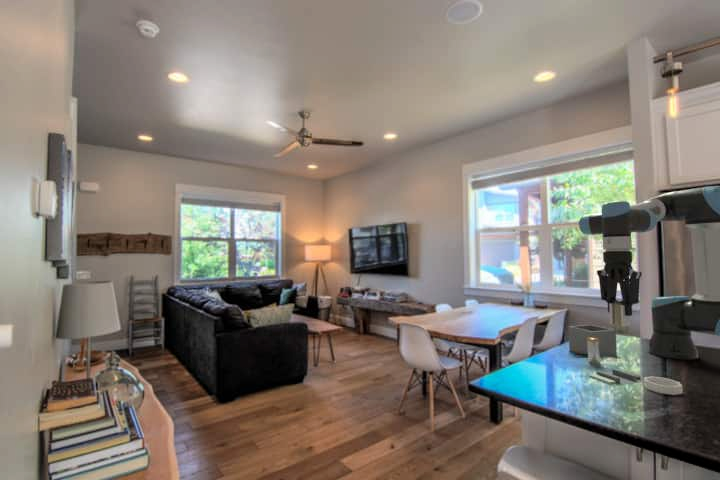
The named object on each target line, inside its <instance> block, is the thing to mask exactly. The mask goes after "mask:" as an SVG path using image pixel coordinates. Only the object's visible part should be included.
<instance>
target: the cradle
mask: <svg viewBox="0 0 720 480" xmlns="http://www.w3.org/2000/svg"><path fill="white" fill-rule="evenodd" d="M585 377H588V378H591V379H594V380H596V381H599V382H601V383H604V384H607V385H610V386H612V387H618V386H623V385H624V386H625V385H630V384H637V383H644V378H642V377H641V376H640V375H636V374H633V373H629V372H626V371H624V370H621V369H617V368H612V369H611V371H609V372H608V371H607V372H606V371H605V372H604V371H601V370H596V373H592V374H591V373H590V374H586V375H585Z"/></svg>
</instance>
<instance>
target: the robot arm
mask: <svg viewBox="0 0 720 480" xmlns="http://www.w3.org/2000/svg"><path fill="white" fill-rule="evenodd" d="M679 221H680V222H684V225H685V227H687V228H688V229H690V233H691V234H690V235H691V245H692V255H693V256H692V257H693V259H692V260H693V268H694V278H695V279H694V281H695V294H693V295H692V296H690V297H691V299H690V297H689V296H687V295H682V296H681V295H678V296H677V295H675V296H673V295H672V296H657V297H656V296H655V297H653V299H652V301H651V306H650V307H651V309H650V310H651V320H652V321H651V322H652V334H651V338H650V340H649V343H648V345H647V348H648V349H647V350H648V353H650V354H651V355H655V356H658V357H662V358H668V359H675V360H684V361H685V360H697V359H699V351H698V350H697V347H696V345H695V343H694V340H693V338H692V333H693V332H695V333H699V334H700V333H701V334H706V335H713V336H717V337H720V185H710V186H704V187H703V186H701V187H696V188H690V189H683V190H675V191H671V192H667V193H666V192H665V193H662V194H659V195H657V196H654V197H650V198H647V199H644V200H643V201H642V202H640V203H636V204H632V205H630V202H628V201H625V200H618V201H609V202H605V203H603V204H602V205H601V212H598V213H597V212H596V213H590V214H584V215H582V216H581V217H580V218H579V220H578V227H579V231H580V232H581V233H582V234H584V235H588V236H589V235H592V236H594V235H602V249H603V250H604V251H603V252H602V258H603V259H602V261H603V263H604V266H603V268H602V269H598V270H596V273H597V276H598V282H599V289H600V291H599V292H600V297H601V298H600V299H601V300H602V301H605V302H606V304H607V313H609V324H610V325H614V307H613V300H617V291H618V285H619V289H620V294H621V298H622V299H621V300H623V303H622V305H621V325H622V326H624V327H625V326H628V327H631V325H632V324H631V317H632V315H633V305H636V304H639V303H640V281H641V277H642V273H643V272H642V271H636V270H635V269H634V267H632V263H633V252H632V251H631V250H632V248H633V246H632V245H633V242H632V233H647V232H650V231H652V230H653V229H655V227H656V226H657V223H658V222H679Z"/></svg>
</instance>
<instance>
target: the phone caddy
mask: <svg viewBox="0 0 720 480" xmlns="http://www.w3.org/2000/svg"><path fill="white" fill-rule="evenodd" d="M588 337H592V338H598V339H599V354H600V357H613V356H618V355H617V354H618V352H617V351H618V350H617V333H615V332H614V328H608V327H603V326H599V325H598V326H597V325H593V324H583V325H582V324H581V325H571V326H569V325H568V344H569V345H568V346H569V351H571V352H577V351H578V352H582V353H585V354H588V346H587V338H588Z"/></svg>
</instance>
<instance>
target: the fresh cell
mask: <svg viewBox="0 0 720 480" xmlns="http://www.w3.org/2000/svg"><path fill="white" fill-rule="evenodd" d="M587 346H588V356H587V362H588V363H590V364H593V365H594V364H595V365H597V364H598V365H599V364H600V363H601V360H600V359H601V358H600V357H601V356H600V354H599V339H598V338H592V337H588V338H587Z"/></svg>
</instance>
